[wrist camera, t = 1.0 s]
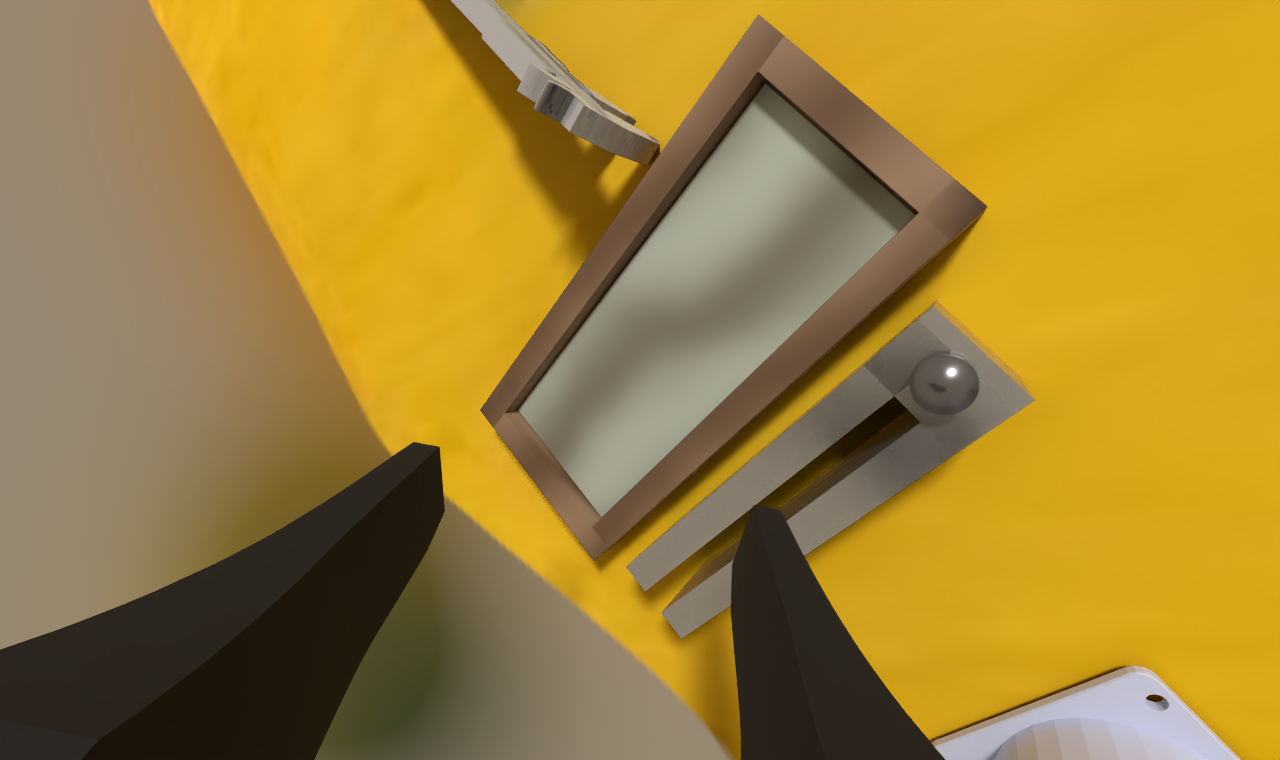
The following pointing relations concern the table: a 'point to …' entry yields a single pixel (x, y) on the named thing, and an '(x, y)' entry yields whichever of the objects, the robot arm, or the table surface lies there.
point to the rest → (720, 285)
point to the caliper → (557, 85)
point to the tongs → (868, 476)
